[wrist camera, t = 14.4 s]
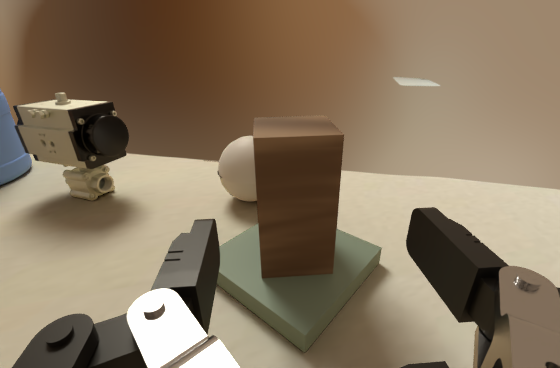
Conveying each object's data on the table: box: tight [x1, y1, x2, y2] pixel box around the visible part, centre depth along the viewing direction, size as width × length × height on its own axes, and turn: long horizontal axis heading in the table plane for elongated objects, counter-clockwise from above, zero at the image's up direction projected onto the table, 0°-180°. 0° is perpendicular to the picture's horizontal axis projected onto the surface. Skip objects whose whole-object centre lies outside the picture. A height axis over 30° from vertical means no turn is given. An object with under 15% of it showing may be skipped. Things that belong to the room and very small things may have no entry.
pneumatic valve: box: [13, 93, 129, 201], centre depth 32 cm, size 6×12×12 cm, turn 70°
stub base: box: [217, 224, 382, 353], centre depth 21 cm, size 10×10×8 cm
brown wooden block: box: [253, 115, 344, 278], centre depth 20 cm, size 5×5×10 cm
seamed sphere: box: [204, 136, 257, 201], centre depth 33 cm, size 10×7×7 cm
